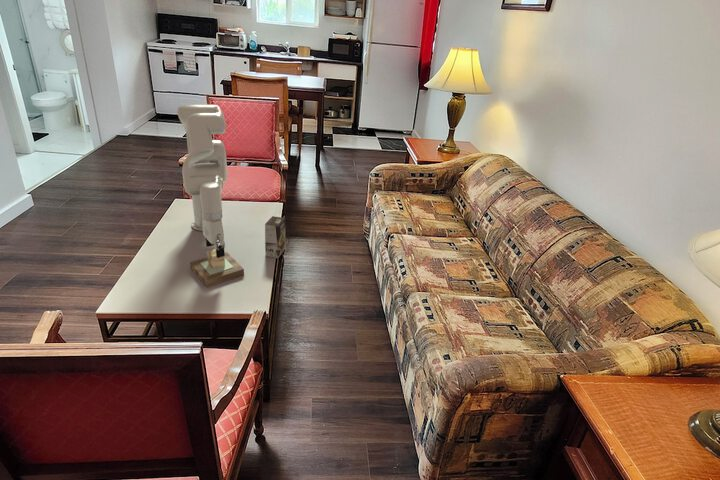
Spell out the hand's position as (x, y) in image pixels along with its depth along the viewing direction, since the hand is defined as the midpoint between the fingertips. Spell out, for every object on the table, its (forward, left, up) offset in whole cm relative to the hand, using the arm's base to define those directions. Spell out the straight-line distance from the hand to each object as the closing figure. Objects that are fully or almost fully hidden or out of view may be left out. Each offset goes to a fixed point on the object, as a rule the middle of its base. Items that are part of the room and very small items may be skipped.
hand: (215, 251), depth 173 cm
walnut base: (+1, 0, -10) cm, 10 cm away
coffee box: (0, +28, -10) cm, 30 cm away
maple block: (0, 0, -6) cm, 6 cm away
